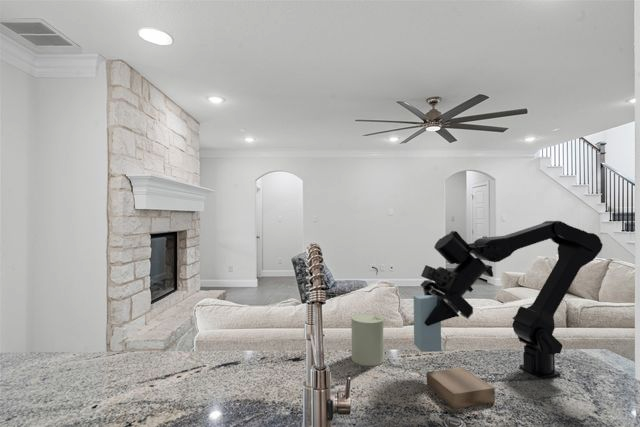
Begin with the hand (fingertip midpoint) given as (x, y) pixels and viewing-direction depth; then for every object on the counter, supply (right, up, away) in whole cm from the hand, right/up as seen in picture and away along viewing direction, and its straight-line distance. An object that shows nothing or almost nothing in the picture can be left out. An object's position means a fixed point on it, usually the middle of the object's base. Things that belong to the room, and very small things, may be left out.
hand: (421, 321), depth 81 cm
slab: (+6, -13, -9) cm, 17 cm away
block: (+1, -7, 0) cm, 7 cm away
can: (-12, -14, +9) cm, 21 cm away
